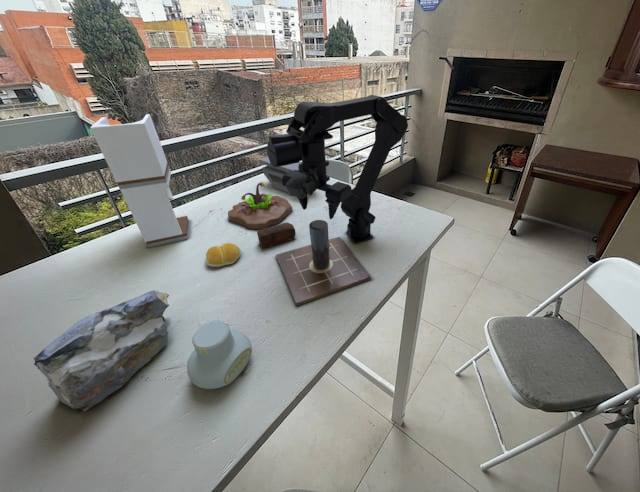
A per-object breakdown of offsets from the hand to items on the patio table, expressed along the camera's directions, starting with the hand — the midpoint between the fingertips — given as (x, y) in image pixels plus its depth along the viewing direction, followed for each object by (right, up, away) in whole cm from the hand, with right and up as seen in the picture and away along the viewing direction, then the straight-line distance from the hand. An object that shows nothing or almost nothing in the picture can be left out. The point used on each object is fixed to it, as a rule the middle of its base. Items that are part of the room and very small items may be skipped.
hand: (317, 213), depth 77 cm
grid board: (+1, -15, +1) cm, 15 cm away
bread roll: (-27, -13, +4) cm, 30 cm away
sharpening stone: (-18, +12, +43) cm, 48 cm away
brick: (-14, -8, +11) cm, 20 cm away
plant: (-24, +1, +25) cm, 35 cm away
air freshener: (-14, -30, -23) cm, 40 cm away
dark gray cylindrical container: (+1, -14, 0) cm, 14 cm away
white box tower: (-49, -6, +14) cm, 52 cm away
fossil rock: (-32, -29, -22) cm, 49 cm away
